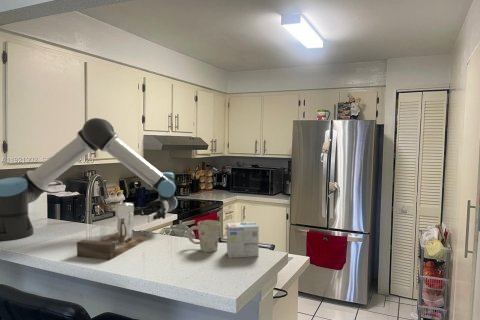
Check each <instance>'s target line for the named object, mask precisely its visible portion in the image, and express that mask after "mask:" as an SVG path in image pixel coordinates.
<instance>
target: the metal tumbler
mask: <svg viewBox="0 0 480 320" xmlns="http://www.w3.org/2000/svg"><path fill="white" fill-rule="evenodd" d="M134 208H135V204H134V202H119V203H116V204H115V222H116V227H117V233H118V239H117V240H116V242H117V244H119V245H124V244H126V243H128V242H130V241H132V240H134V236H133V228H134V224H135V216H134Z"/></svg>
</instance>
